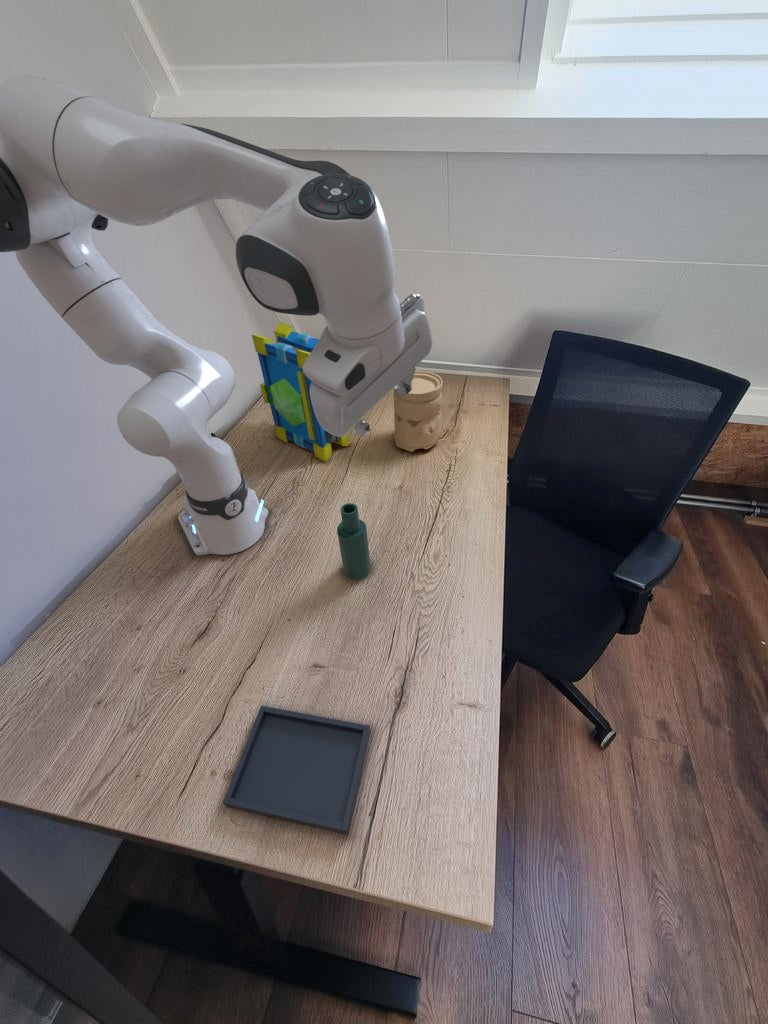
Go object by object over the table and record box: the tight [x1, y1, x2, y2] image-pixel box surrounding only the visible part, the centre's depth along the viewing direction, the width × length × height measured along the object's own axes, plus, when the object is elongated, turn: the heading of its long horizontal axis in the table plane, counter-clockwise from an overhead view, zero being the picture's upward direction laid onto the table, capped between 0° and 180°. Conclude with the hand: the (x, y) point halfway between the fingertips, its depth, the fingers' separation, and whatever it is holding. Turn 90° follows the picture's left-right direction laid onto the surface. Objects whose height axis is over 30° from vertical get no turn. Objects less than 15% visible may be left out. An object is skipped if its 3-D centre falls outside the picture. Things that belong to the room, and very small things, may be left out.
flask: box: [336, 502, 371, 581], centre depth 88 cm, size 6×6×17 cm
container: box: [392, 370, 444, 453], centre depth 121 cm, size 13×13×18 cm
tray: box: [222, 705, 371, 836], centre depth 66 cm, size 18×14×2 cm
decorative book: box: [251, 322, 350, 463], centre depth 119 cm, size 14×23×30 cm, turn 50°
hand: (384, 411), depth 67 cm, fingers open, 8 cm apart
